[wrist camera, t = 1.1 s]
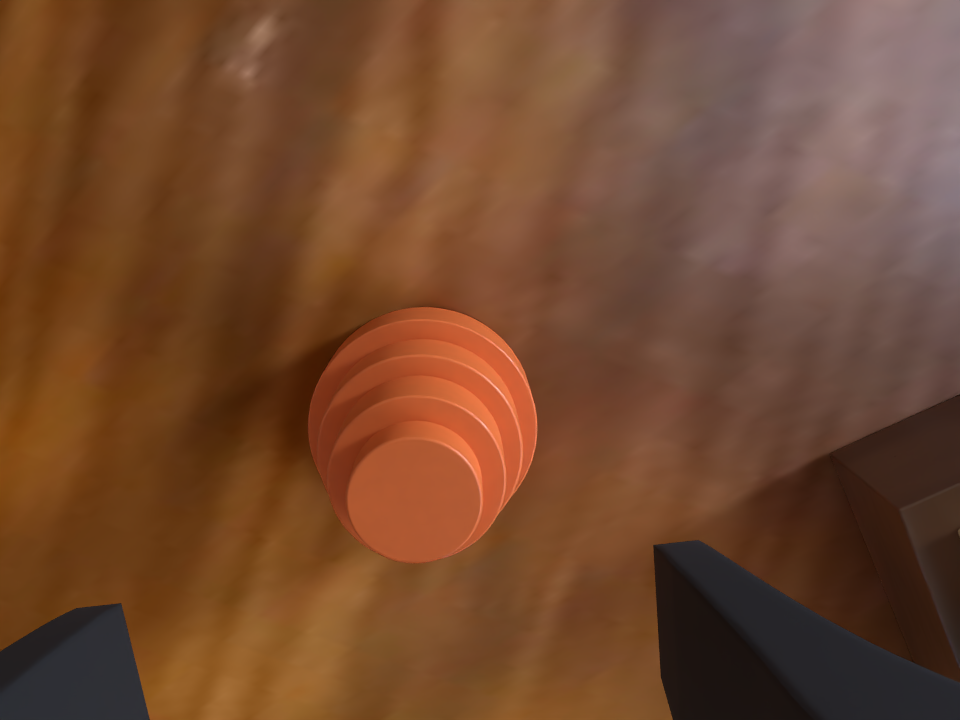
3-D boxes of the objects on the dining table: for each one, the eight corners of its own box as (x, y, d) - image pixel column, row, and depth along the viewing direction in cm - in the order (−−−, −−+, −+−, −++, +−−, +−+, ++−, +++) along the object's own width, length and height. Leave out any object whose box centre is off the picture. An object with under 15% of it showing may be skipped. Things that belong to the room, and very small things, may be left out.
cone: (540, 498, 22) (568, 613, 16) (335, 521, 22) (294, 643, 16) (521, 295, 20) (544, 347, 15) (302, 319, 20) (246, 380, 15)
